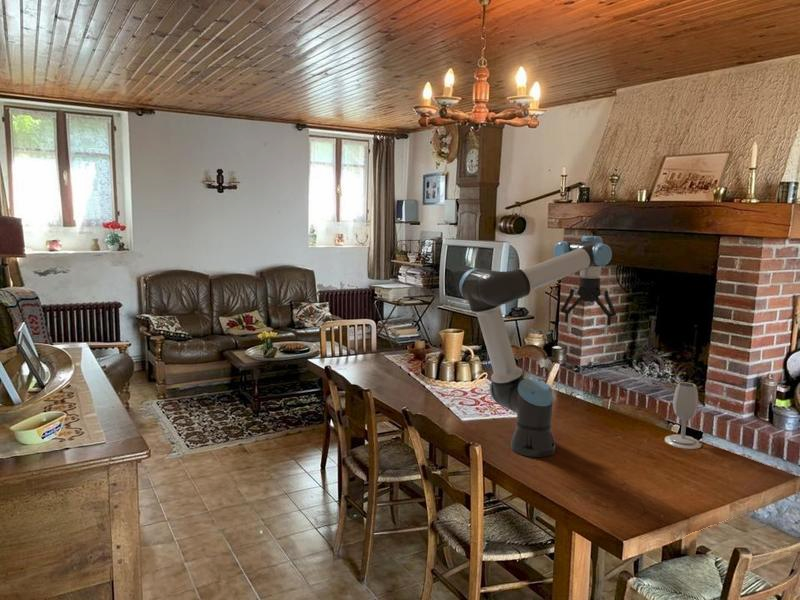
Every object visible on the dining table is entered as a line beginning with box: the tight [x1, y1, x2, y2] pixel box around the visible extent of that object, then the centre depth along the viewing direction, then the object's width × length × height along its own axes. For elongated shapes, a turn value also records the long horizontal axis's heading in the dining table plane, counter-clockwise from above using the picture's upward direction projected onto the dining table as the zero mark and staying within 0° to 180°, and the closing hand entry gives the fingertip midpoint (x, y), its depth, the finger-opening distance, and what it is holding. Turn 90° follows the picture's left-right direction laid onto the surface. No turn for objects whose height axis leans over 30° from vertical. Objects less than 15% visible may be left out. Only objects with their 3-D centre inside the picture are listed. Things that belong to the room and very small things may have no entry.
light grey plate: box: [664, 435, 702, 450], centre depth 215 cm, size 12×12×1 cm
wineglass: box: [669, 381, 699, 445], centre depth 214 cm, size 9×9×21 cm
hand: (587, 332), depth 229 cm, fingers open, 13 cm apart
